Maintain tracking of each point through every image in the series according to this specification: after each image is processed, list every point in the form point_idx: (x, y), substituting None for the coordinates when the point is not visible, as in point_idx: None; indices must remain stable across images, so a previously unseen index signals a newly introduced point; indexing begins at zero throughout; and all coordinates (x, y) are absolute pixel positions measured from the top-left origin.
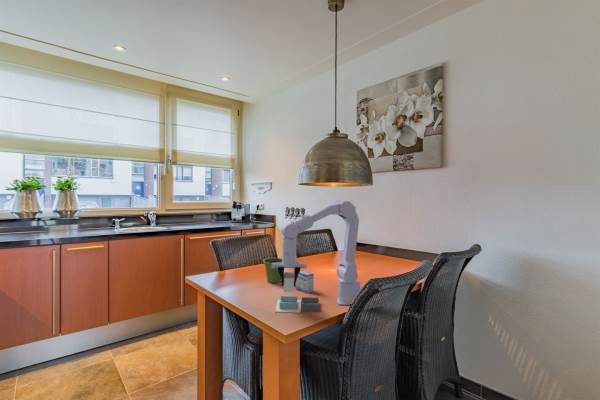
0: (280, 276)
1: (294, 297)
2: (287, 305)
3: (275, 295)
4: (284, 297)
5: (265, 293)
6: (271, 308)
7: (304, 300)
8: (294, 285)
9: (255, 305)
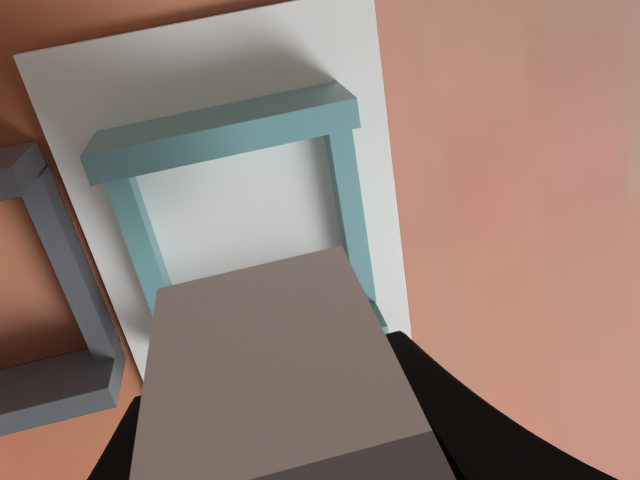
0: (566, 453)
1: None
2: (234, 115)
3: None
4: None
5: None
6: (441, 106)
7: (77, 373)
8: None
9: (630, 149)
